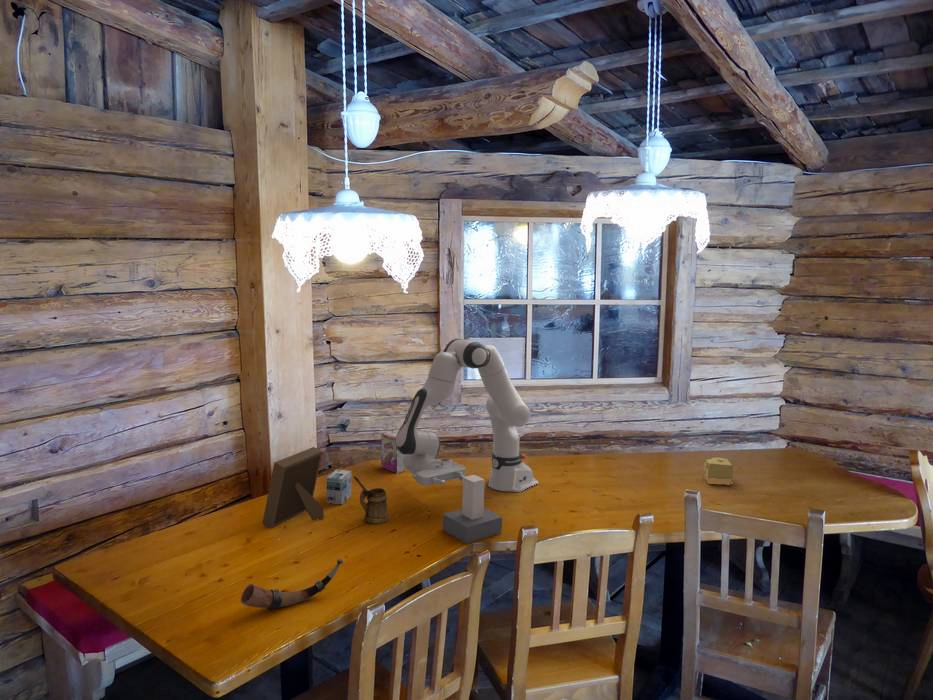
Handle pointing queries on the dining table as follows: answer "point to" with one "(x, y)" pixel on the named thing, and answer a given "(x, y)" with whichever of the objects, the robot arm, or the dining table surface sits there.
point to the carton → (473, 497)
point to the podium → (471, 525)
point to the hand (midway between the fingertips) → (453, 480)
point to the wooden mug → (374, 504)
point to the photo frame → (293, 488)
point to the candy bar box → (391, 453)
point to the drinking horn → (283, 593)
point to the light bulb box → (338, 486)
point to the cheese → (718, 468)
